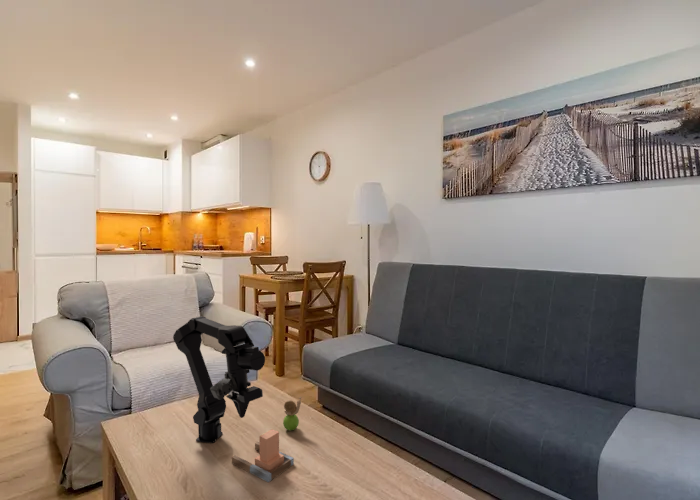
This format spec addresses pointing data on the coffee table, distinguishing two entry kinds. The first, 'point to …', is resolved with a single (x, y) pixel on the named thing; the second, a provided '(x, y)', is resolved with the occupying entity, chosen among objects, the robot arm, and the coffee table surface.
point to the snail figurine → (291, 414)
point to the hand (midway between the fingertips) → (242, 417)
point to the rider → (269, 451)
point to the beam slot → (259, 471)
